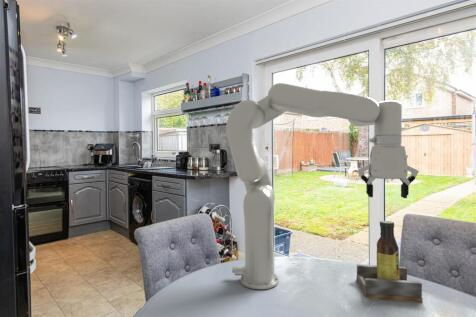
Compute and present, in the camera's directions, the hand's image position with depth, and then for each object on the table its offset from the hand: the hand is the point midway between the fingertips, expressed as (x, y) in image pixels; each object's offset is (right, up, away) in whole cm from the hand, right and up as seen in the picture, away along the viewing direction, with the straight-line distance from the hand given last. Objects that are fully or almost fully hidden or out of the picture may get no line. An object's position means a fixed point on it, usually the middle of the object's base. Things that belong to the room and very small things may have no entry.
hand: (387, 197), depth 94 cm
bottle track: (0, -29, 0) cm, 29 cm away
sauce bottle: (0, -28, 0) cm, 28 cm away
